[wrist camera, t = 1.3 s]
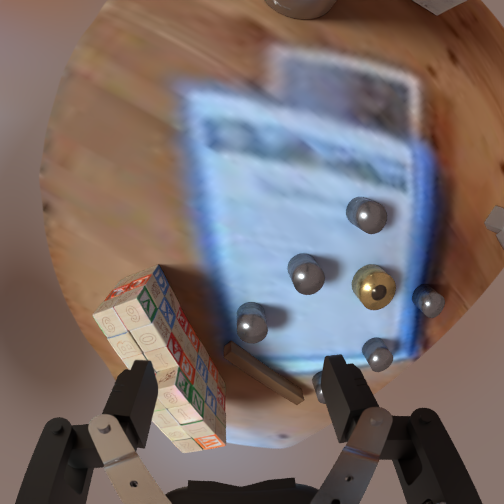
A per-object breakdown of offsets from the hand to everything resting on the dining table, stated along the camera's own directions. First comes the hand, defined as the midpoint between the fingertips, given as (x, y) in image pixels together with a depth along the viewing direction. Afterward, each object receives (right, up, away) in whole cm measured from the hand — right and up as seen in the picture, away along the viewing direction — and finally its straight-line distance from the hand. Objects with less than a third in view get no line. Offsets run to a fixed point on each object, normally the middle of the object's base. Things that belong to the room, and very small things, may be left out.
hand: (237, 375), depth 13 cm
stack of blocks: (-10, -6, +27) cm, 29 cm away
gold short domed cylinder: (+16, +2, +25) cm, 30 cm away
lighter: (+39, +10, +24) cm, 47 cm away
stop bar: (+3, -12, +29) cm, 31 cm away
